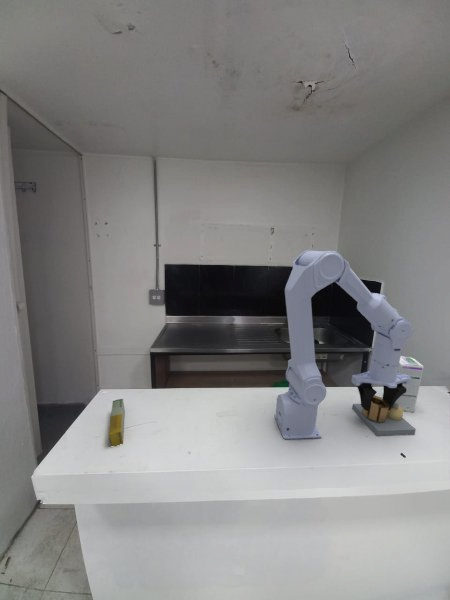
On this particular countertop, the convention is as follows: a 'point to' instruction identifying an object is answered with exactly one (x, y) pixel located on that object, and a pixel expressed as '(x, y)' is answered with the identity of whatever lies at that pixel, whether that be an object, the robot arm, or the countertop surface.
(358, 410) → the carrier plate
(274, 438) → the countertop surface
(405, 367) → the syrup box
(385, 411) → the brown segmented ring
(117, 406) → the medication box
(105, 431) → the countertop surface
